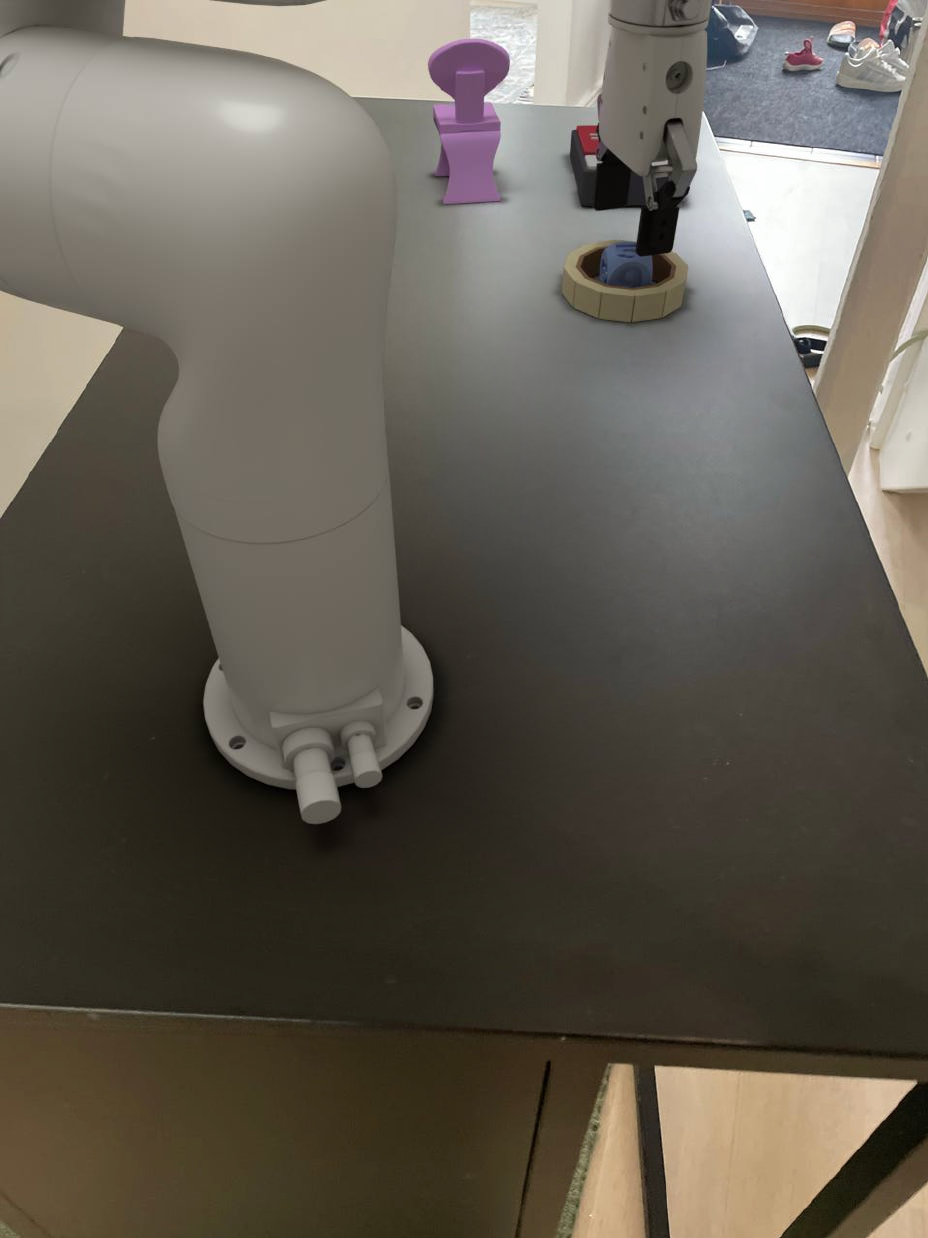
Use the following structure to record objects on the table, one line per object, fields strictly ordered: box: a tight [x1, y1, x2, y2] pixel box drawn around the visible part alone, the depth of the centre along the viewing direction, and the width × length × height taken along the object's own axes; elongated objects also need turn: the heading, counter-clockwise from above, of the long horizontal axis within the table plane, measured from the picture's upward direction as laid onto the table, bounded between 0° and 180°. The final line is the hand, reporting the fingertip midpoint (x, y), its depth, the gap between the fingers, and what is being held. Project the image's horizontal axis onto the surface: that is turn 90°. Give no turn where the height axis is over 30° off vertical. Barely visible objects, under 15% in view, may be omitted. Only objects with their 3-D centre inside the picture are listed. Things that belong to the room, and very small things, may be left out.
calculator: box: [569, 124, 669, 207], centre depth 101 cm, size 11×4×15 cm
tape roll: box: [561, 239, 689, 323], centre depth 83 cm, size 11×11×2 cm
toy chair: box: [427, 38, 511, 205], centre depth 96 cm, size 8×9×15 cm
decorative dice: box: [599, 241, 653, 288], centre depth 83 cm, size 4×4×4 cm
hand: (630, 229), depth 80 cm, fingers open, 9 cm apart
